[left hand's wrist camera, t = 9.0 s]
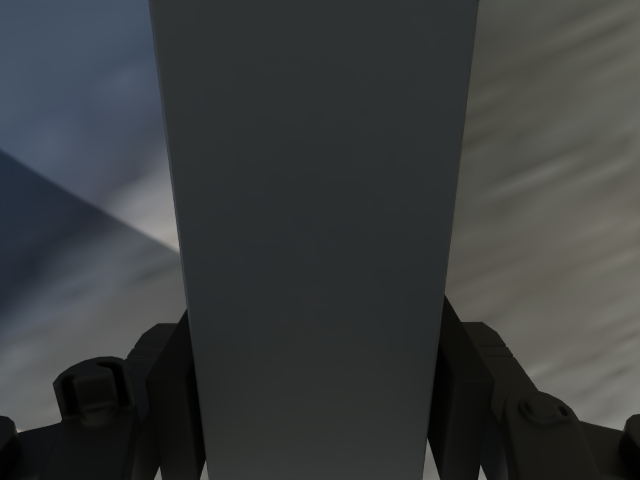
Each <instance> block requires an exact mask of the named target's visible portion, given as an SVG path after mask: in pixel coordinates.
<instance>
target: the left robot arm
mask: <svg viewBox="0 0 640 480" xmlns="http://www.w3.org/2000/svg"><path fill="white" fill-rule="evenodd" d="M53 387H54V390H55V394H56V398H57V402H58V405H59V409H60V413H61V417H62V421H61V422H60V423H57V424H53V425H50V426H46V427H41V428H37V429H32V430H28V431H24V432H19V433H17V430H16V427H15V423H14V422H13V421H12V420H11V419H10V418H8V417H5V416H0V480H154V478H155V476H156V473H157V471H158V469H159V466H160V470H161V476H162V480H200V477H201V474H202V470H203V467H204V464H205V460H206V454H205V446H204V438H203V430H202V422H201V414H200V406H199V398H198V390H197V382H196V375H195V367H194V359H193V351H192V343H191V335H190V327H189V319H188V311H187V309H186V311H185V313H184V314H183V316H182V318H181V320H180V321H179V323H158V324H156V325H155V326H154V327H152V328H151V329H149V330H148V331H147V332H145V333H144V334H143V335H142V336H141V338H140V339H139V340H138V342H137V343H136V345H135V347H134V349H132V350H131V352H130V353H129V355H128V356H127V359H125V360H123V359H121V358H117V357H113V356H109V357H97V358H93V359H89V360H85V361H82V362H80V363H78V364H76V365H73V366H71V367H70V368H68V369H67V370H65V371H64V372H63V373H61V374H60V375H59V376H58V377H57V379H56V380H55V381H54V382H53ZM427 437H428V441H429V444H430V447H431V451H432V454H433V457H434V460H435V464H436V467H437V470H438V474H439V477H440V480H478V476H479V470H480V464H481V466H482V469H483V471H484V474H485V476H486V478H487V480H640V414H637V415H632V416H631V417H630V418H629V419H628V420H626V423H625V427H624V430H623V431H620V430H616V429H611V428H607V427H602V426H598V425H594V424H589V423H586V422H583V421H579V420H578V418H577V416H576V415H575V413H574V412H573V410H572V409H571V408H570V407H569V406H567V405H566V404H565V403H564V402H562V401H561V400H560V399H558V398H556V397H554V396H552V395H550V394H548V393H544V392H540V391H538V389H537V388H536V387H535V385H534V384H533V382H532V381H531V380H530V378H529V377H528V375H527V374H526V373H525V371H524V370H523V368H522V367H521V365H520V364H519V363H518V361H517V360H516V358H515V357H513V354H512V353H511V351H510V350H509V349H508V347H506V344H505V343H504V342H503V340H502V339H501V337H500V336H499V334H498V333H497V332H496V331H494V330H493V329H491V328H490V327H488V326H487V325H486V324H484V323H483V322H461V321H460V319H459V318H458V316H457V314H456V313H455V311H454V309H453V308H452V306H451V304H450V303H449V301H448V299H447V297H446V296H445V294H444V300H443V309H442V317H441V326H440V334H439V343H438V351H437V360H436V368H435V376H434V385H433V393H432V402H431V410H430V419H429V427H428V436H427Z"/></svg>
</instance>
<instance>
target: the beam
mask: <svg viewBox="0 0 640 480" xmlns="http://www.w3.org/2000/svg"><path fill="white" fill-rule="evenodd" d="M478 4H479V0H149V8H150V16H151V24H152V32H153V40H154V48H155V56H156V64H157V72H158V80H159V88H160V96H161V104H162V112H163V120H164V128H165V136H166V144H167V152H168V160H169V168H170V175H171V183H172V191H173V199H174V207H175V215H176V223H177V231H178V239H179V247H180V255H181V263H182V271H183V279H184V287H185V295H186V303H187V311H188V319H189V327H190V335H191V343H192V351H193V359H194V367H195V375H196V382H197V390H198V398H199V406H200V414H201V422H202V430H203V438H204V446H205V454H206V462H207V470H208V478H209V480H422V478H423V470H424V461H425V453H426V444H427V436H428V427H429V419H430V410H431V402H432V393H433V385H434V376H435V368H436V360H437V351H438V343H439V334H440V326H441V317H442V309H443V300H444V292H445V283H446V275H447V267H448V258H449V250H450V241H451V233H452V224H453V216H454V207H455V199H456V190H457V182H458V174H459V165H460V157H461V148H462V140H463V131H464V123H465V114H466V106H467V97H468V89H469V81H470V72H471V64H472V55H473V47H474V38H475V30H476V21H477V13H478Z"/></svg>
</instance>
